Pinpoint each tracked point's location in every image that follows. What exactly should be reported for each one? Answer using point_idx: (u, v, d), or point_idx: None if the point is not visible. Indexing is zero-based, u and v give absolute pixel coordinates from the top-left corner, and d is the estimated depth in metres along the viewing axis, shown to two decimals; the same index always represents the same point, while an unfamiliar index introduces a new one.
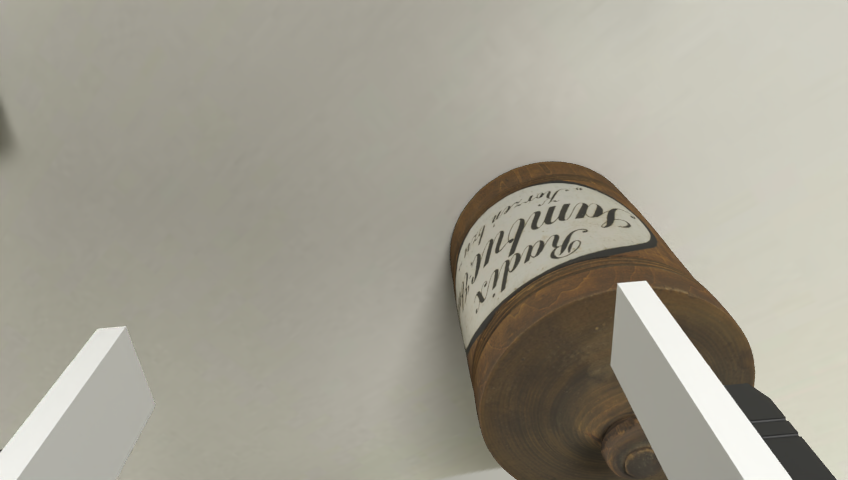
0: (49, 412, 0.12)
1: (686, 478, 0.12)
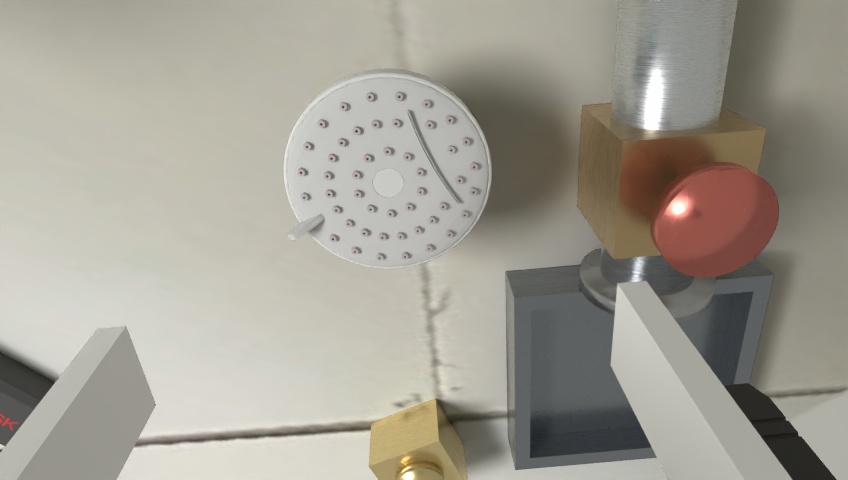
0: (49, 412, 0.12)
1: (686, 478, 0.12)
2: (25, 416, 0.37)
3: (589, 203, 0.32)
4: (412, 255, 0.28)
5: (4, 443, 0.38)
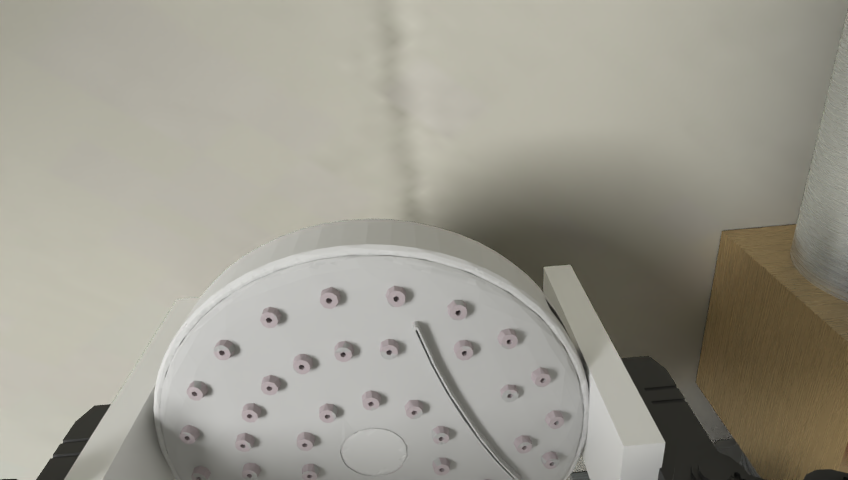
0: (148, 370, 0.13)
1: (588, 442, 0.13)
2: None
3: (734, 401, 0.18)
4: None
5: None
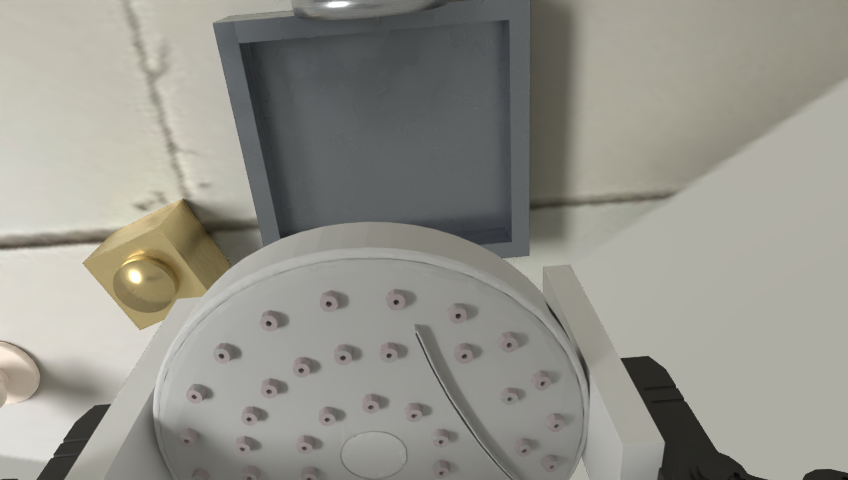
0: (149, 369, 0.13)
1: (588, 442, 0.13)
2: None
3: None
4: None
5: None
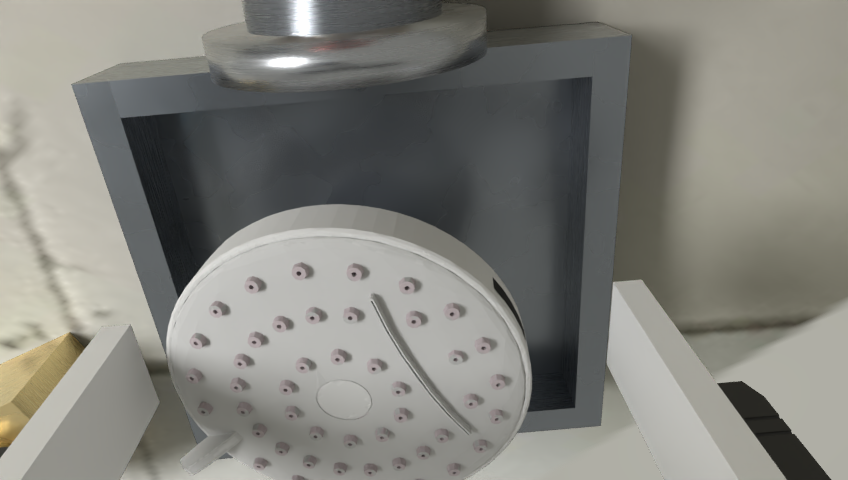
0: (55, 409, 0.12)
1: (680, 475, 0.12)
2: None
3: None
4: None
5: None
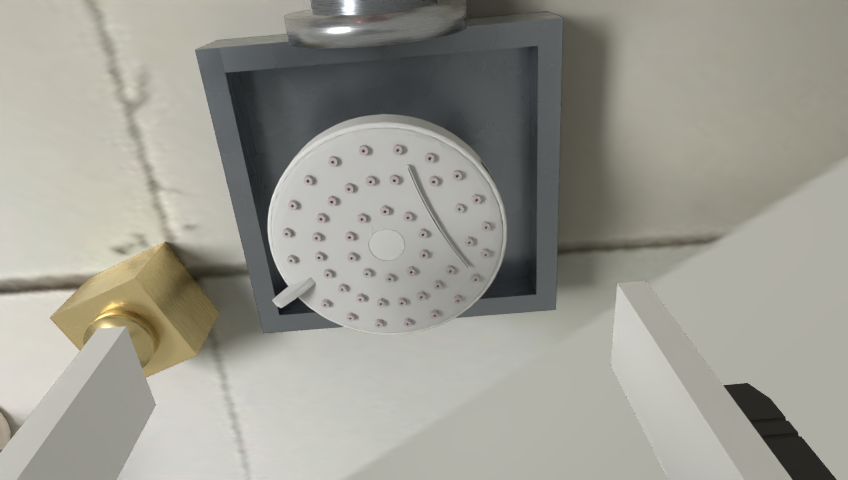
0: (49, 412, 0.12)
1: (686, 478, 0.12)
2: None
3: None
4: (416, 321, 0.25)
5: None
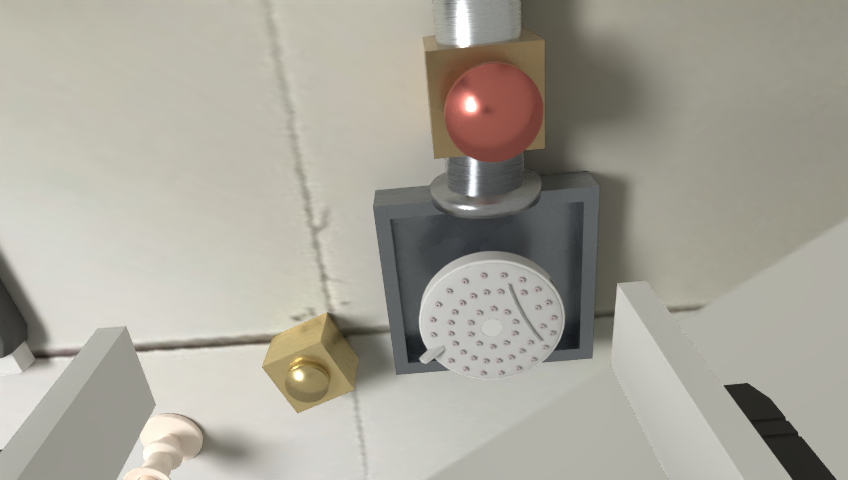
0: (49, 412, 0.12)
1: (686, 478, 0.12)
2: None
3: (430, 120, 0.37)
4: (505, 372, 0.39)
5: None
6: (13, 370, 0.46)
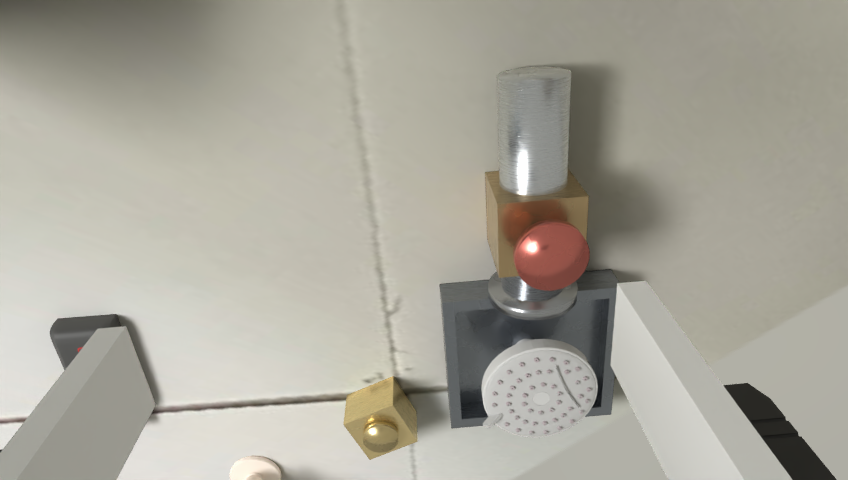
0: (49, 412, 0.12)
1: (686, 478, 0.12)
2: None
3: (490, 238, 0.47)
4: (549, 431, 0.49)
5: None
6: None
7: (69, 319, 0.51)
